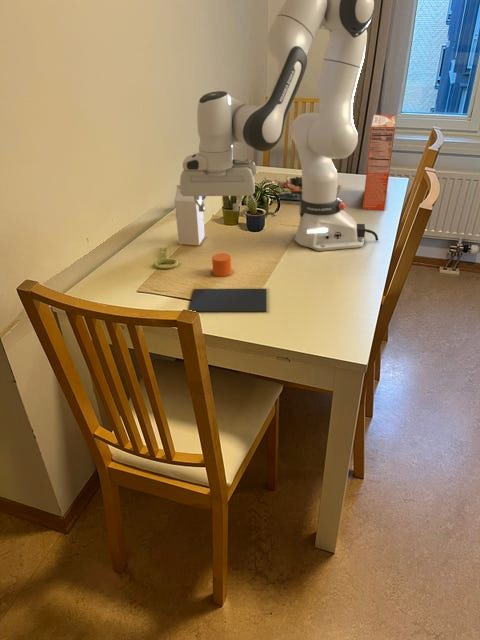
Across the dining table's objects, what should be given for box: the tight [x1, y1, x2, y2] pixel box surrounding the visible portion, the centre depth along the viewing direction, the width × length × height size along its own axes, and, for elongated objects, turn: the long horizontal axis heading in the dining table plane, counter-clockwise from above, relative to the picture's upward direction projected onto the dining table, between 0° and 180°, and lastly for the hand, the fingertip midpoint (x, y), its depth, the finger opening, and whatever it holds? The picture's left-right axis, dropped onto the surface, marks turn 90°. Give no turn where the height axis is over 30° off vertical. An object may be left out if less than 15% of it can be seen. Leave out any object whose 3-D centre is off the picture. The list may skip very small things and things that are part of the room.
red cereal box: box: [362, 114, 396, 211], centre depth 192 cm, size 23×8×30 cm, turn 165°
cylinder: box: [211, 252, 232, 278], centre depth 147 cm, size 6×6×5 cm
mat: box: [188, 288, 267, 313], centre depth 134 cm, size 20×12×1 cm, turn 88°
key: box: [153, 246, 179, 270], centre depth 155 cm, size 7×12×2 cm, turn 23°
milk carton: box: [174, 184, 206, 246], centre depth 164 cm, size 7×7×19 cm
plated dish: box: [264, 175, 340, 205], centre depth 209 cm, size 35×28×7 cm
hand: (218, 210), depth 138 cm, fingers open, 8 cm apart
